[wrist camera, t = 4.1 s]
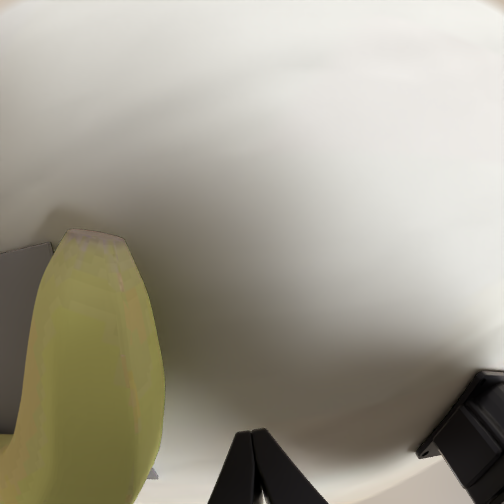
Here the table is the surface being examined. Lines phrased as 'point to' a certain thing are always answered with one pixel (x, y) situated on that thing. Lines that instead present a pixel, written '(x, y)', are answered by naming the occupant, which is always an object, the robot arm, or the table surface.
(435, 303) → the table surface
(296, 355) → the table surface
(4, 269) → the mat
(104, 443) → the banana
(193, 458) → the table surface
